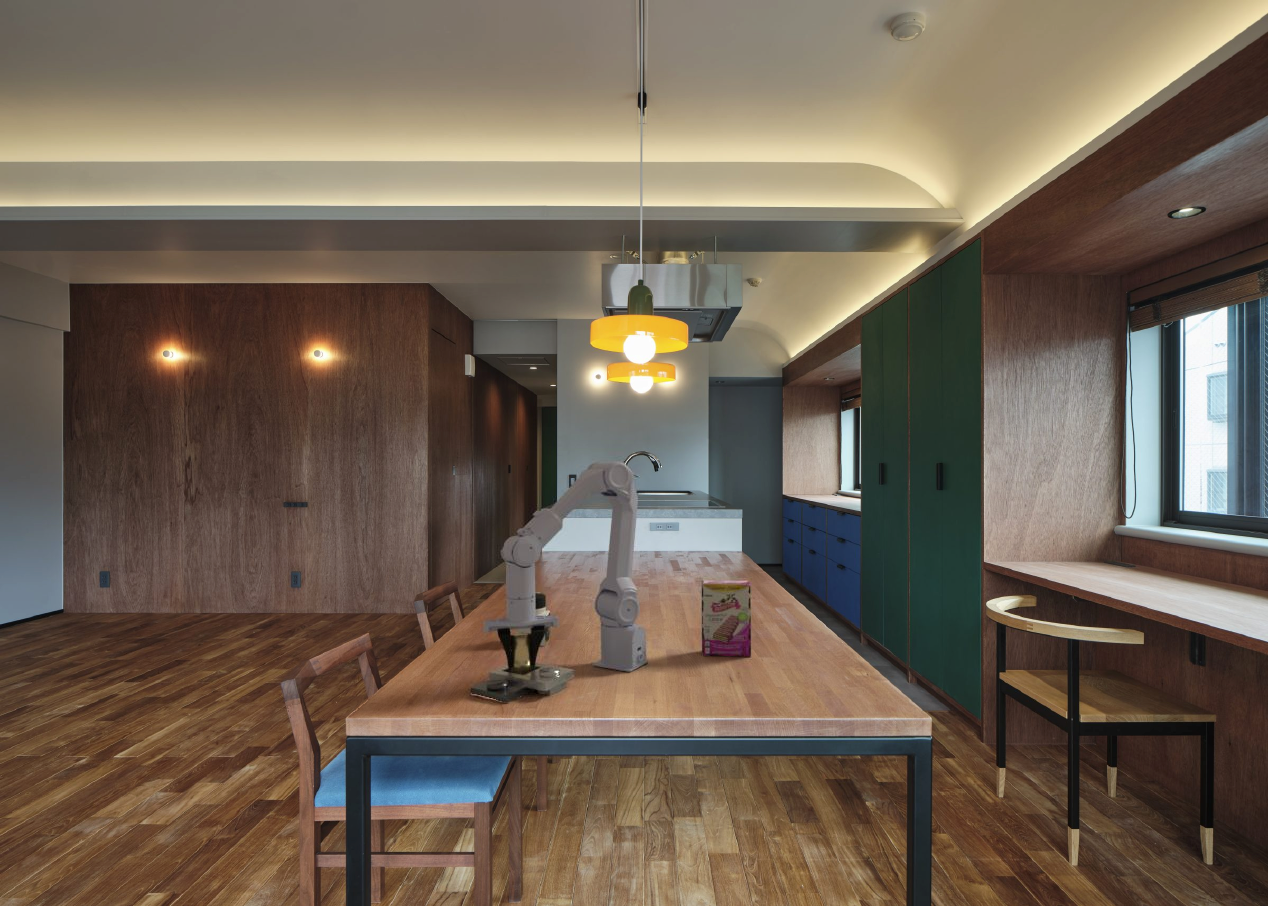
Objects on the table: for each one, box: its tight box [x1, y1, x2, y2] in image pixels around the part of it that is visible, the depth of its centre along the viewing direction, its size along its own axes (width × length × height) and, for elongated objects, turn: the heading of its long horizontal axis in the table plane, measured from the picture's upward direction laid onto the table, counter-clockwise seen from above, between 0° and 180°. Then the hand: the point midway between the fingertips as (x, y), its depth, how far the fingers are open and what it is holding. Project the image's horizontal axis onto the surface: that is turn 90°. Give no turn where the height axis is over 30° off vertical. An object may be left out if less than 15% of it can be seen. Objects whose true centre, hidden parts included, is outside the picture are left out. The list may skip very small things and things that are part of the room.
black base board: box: [470, 679, 536, 704], centre depth 125 cm, size 14×9×2 cm, turn 150°
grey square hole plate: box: [488, 662, 575, 696], centre depth 126 cm, size 14×9×4 cm, turn 60°
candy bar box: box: [701, 579, 752, 658], centre depth 146 cm, size 11×5×16 cm, turn 84°
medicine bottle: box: [516, 592, 551, 647], centre depth 159 cm, size 7×7×12 cm
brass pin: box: [511, 632, 532, 675], centre depth 128 cm, size 4×4×9 cm
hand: (521, 665), depth 127 cm, fingers closed on brass pin, 4 cm apart
